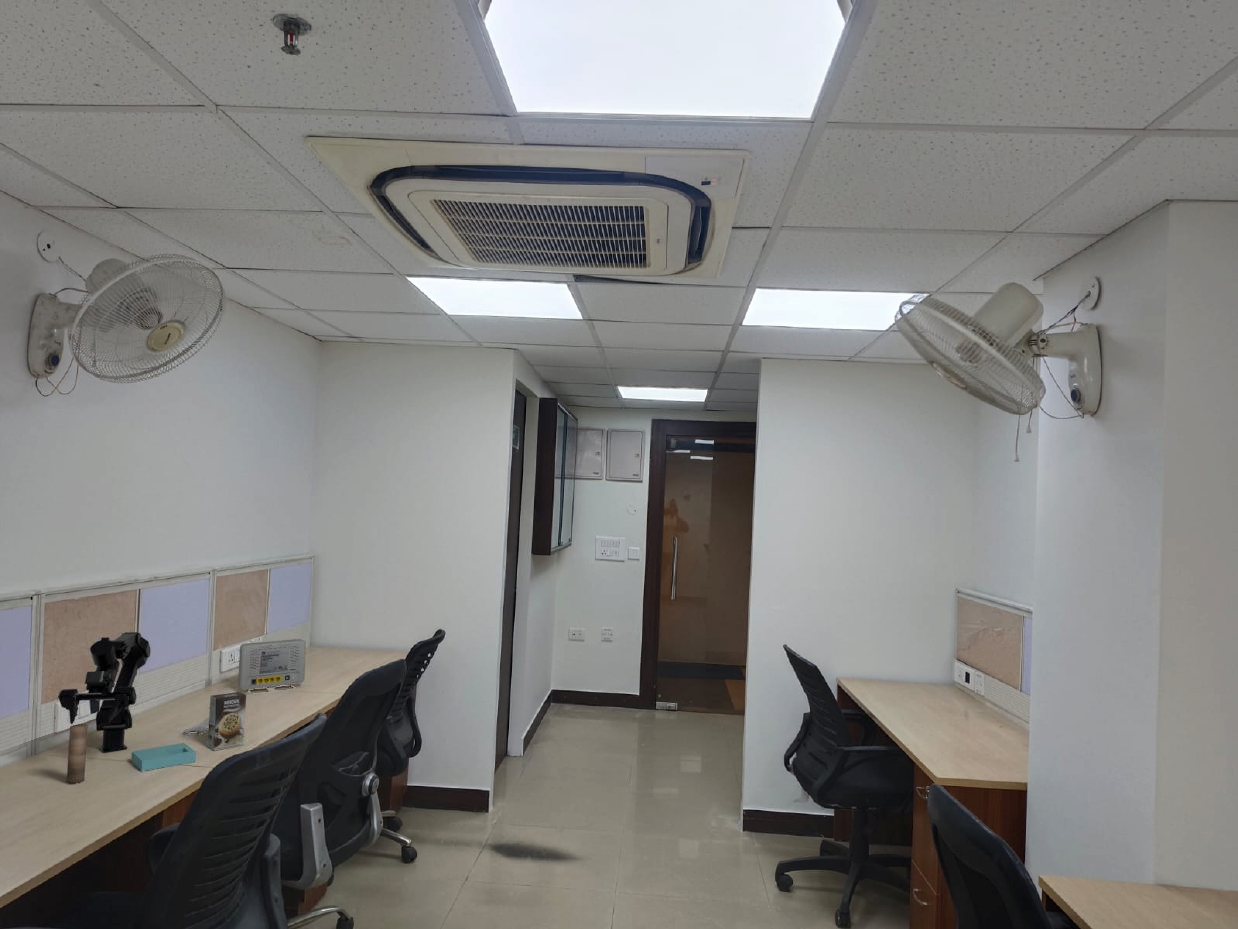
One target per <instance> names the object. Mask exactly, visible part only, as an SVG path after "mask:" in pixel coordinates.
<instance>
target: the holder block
mask: <svg viewBox="0 0 1238 929" xmlns="http://www.w3.org/2000/svg"><path fill="white" fill-rule="evenodd" d="M196 755H197V752H196V750H195V749H193V748H191V746H189V745H188V744H186V743H185V742H181V743H175V744H168V745H161V746H156V747H152V748H145V749H144V748H143V749H139V750H133V751H131V758H130V760H131V761H130V762H131V763H132V764H133V763H134V764H135V765H136V766H137V767H138V768H139V769H140V770H141V771H143V770H149V771H153V770H152V769H154V770H158V769H157V768H159V769H162V768H161V767H165V768H169V766H170V767H174V765H176V766H179V765H178V764H181V765H185V764H184V763H186V764H191V763H196ZM134 764H133V765H134ZM135 765H134V766H135ZM136 766H135V767H136ZM137 767H136V768H137ZM138 768H137V769H138ZM139 769H138V770H139ZM140 770H139V771H140ZM141 771H140V772H141ZM143 772H144V771H143Z"/></svg>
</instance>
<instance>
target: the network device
mask: <svg viewBox="0 0 1238 929" xmlns="http://www.w3.org/2000/svg"><path fill="white" fill-rule="evenodd" d="M306 653H307V642H306V640H304V639H301V638H297V639H296V638H295V639H283V640H272V641H270V640H269V641H260V642H259V641H258V642H246V643H245V642H244V643H242V644H240V647H239V653H238V654H239V658H238V675H237V677H238V678H237V685H238V688H239V689H241V690H245V691H247V690H248V689H255V688H263V687H267V688H276V686H280V685H295V684H296V685H297V684H303V683H304V682H305V677H306V676H305V675H306V674H305V673H306V657H307V656H306ZM276 689H277V688H276Z"/></svg>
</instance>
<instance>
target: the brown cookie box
mask: <svg viewBox="0 0 1238 929" xmlns="http://www.w3.org/2000/svg"><path fill="white" fill-rule="evenodd" d="M246 702H247V694H245V693H243V692H239V691H237V692H228V693H222V694H214V695H210V700H209V716H208V717H209V725H208V727H207V728H208V732H207V743H206V745H207V746H206V747H207V748H209V749H211V750H212V751H221V750H225V749H231V748H236V747H241V746H242V747H243V746H244V741H245V725H246V724H245V723H246V704H247V703H246Z"/></svg>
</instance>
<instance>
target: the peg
mask: <svg viewBox="0 0 1238 929" xmlns="http://www.w3.org/2000/svg"><path fill="white" fill-rule="evenodd" d="M88 725H89V724H86V723H81V724H79V723H77V724H72V725H71V726H69V738H68V739H69V740H68V751H67V752H68V754H67V755H68V756H67V770H66V784H67V783H68V784H67V785H77V784H76V783H78V784H81V783H80V782H82V781H85V774H86V761H87V760H86V756H87V741H88ZM82 783H83V782H82Z"/></svg>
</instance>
